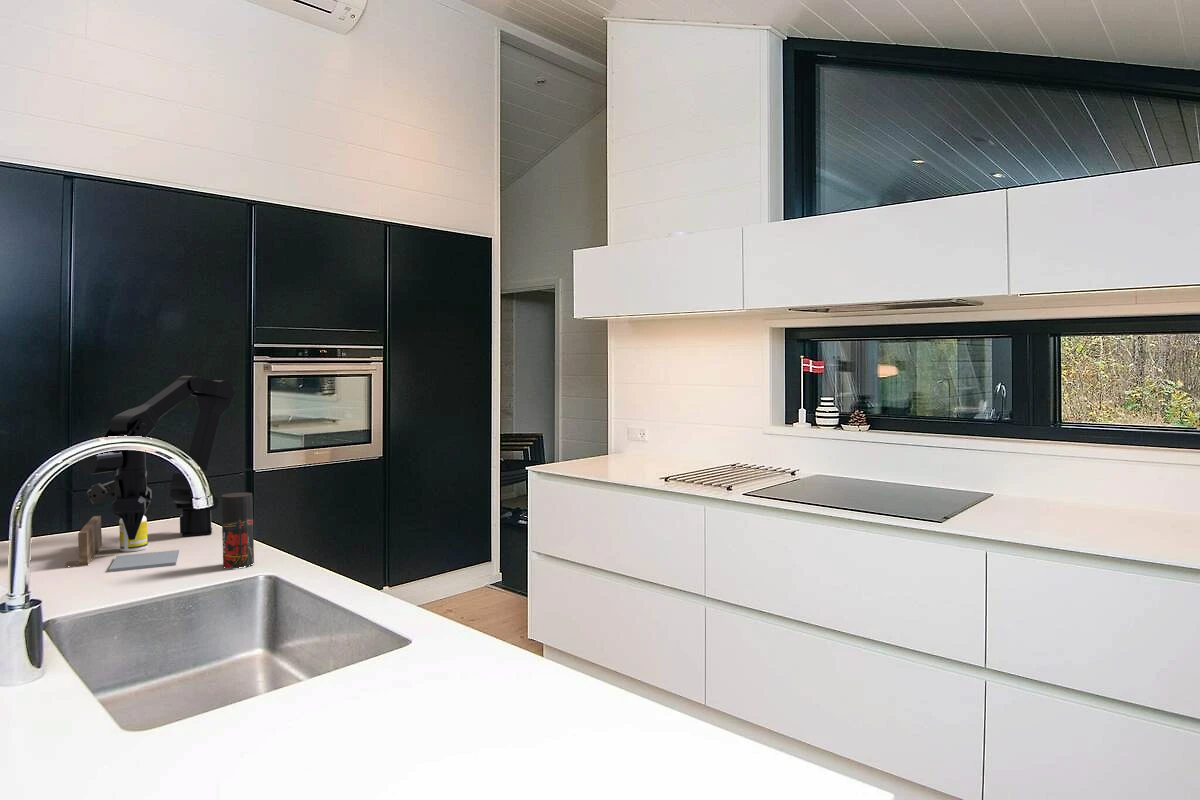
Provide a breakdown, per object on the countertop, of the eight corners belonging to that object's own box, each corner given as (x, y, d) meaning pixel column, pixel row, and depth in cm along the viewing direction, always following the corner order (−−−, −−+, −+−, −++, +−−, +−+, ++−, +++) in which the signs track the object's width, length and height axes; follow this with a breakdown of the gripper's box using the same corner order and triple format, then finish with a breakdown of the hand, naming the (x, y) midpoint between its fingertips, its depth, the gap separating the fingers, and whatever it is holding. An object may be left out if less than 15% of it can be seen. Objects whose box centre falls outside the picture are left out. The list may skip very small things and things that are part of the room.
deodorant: (216, 566, 160) (215, 495, 159) (241, 560, 165) (240, 491, 165) (235, 570, 157) (233, 498, 157) (260, 563, 163) (258, 493, 162)
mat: (179, 552, 172) (179, 549, 172) (175, 565, 161) (175, 562, 161) (116, 558, 167) (116, 555, 167) (108, 571, 156) (108, 569, 156)
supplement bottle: (153, 546, 178) (151, 505, 177) (136, 552, 172) (135, 509, 172) (131, 546, 178) (130, 504, 178) (114, 552, 173) (113, 509, 172)
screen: (102, 545, 179) (101, 515, 179) (88, 565, 161) (86, 532, 161) (81, 546, 178) (80, 517, 177) (65, 567, 160) (64, 534, 159)
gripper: (96, 465, 179) (98, 531, 180) (82, 476, 163) (84, 549, 163) (150, 463, 184) (152, 527, 185) (143, 473, 167) (145, 543, 168)
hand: (133, 536), depth 175 cm, fingers open, 7 cm apart
